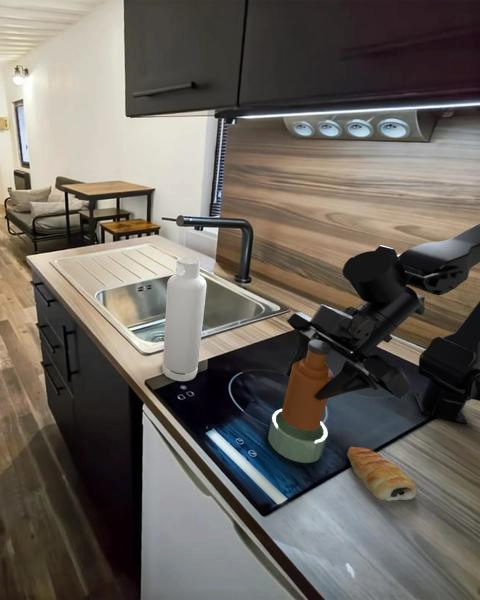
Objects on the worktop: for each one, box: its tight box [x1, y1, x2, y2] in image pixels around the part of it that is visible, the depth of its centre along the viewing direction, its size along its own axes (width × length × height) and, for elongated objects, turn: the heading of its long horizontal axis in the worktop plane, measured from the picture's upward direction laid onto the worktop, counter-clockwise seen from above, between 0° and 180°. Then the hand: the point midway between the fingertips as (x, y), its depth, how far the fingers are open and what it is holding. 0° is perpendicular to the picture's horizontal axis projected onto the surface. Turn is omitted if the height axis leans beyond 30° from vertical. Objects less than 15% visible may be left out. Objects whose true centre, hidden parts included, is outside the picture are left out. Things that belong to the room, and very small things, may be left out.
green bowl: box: [267, 408, 329, 464], centre depth 64 cm, size 8×8×5 cm
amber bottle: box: [281, 340, 335, 431], centre depth 60 cm, size 6×6×15 cm
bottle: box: [162, 255, 208, 382], centre depth 81 cm, size 8×8×28 cm
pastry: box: [346, 446, 418, 502], centre depth 58 cm, size 9×7×4 cm
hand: (301, 386), depth 60 cm, fingers closed on amber bottle, 6 cm apart
